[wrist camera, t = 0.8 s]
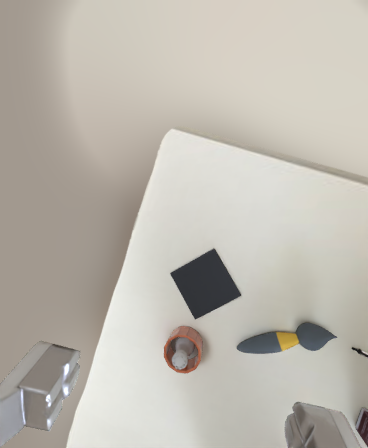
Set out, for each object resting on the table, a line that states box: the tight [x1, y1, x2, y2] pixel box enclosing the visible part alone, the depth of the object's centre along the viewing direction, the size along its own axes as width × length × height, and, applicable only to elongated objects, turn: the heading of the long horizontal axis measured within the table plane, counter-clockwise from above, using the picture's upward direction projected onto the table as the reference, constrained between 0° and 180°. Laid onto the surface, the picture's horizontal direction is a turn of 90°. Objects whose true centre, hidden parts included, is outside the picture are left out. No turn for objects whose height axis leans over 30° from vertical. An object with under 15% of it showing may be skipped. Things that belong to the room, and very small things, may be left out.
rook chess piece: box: [172, 337, 195, 370], centre depth 49 cm, size 4×4×8 cm
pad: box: [170, 249, 241, 319], centre depth 52 cm, size 12×12×1 cm
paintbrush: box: [237, 323, 337, 354], centre depth 46 cm, size 20×5×5 cm, turn 111°
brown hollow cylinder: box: [164, 326, 203, 373], centre depth 50 cm, size 8×8×4 cm
